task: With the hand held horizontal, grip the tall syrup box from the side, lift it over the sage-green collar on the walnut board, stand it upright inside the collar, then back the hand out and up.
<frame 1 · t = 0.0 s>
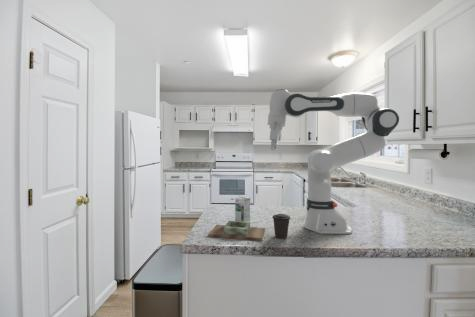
hand: (273, 149, 137), 39 cm above the countertop, tool pointing down, fingers open, 8 cm apart
collar stand: (237, 233, 125), on the countertop
syrup box: (242, 225, 138), on the countertop
coffee cup: (281, 237, 121), on the countertop
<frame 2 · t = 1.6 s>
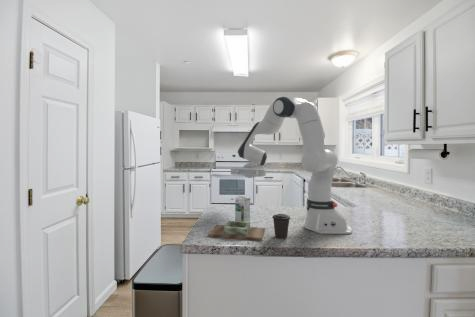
hand: (246, 173, 148), 25 cm above the countertop, tool horizontal, fingers open, 8 cm apart
nothing on the countertop moved.
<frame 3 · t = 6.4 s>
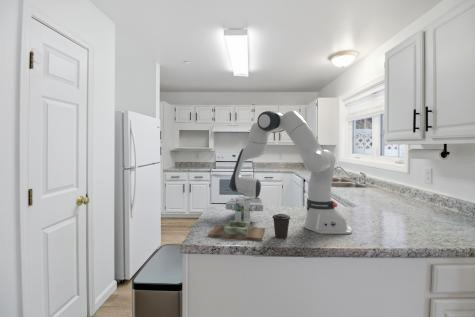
hand: (242, 209, 137), 8 cm above the countertop, tool horizontal, fingers closed on syrup box, 7 cm apart
syrup box: (242, 225, 138), on the countertop, touching gripper
everything else where it was.
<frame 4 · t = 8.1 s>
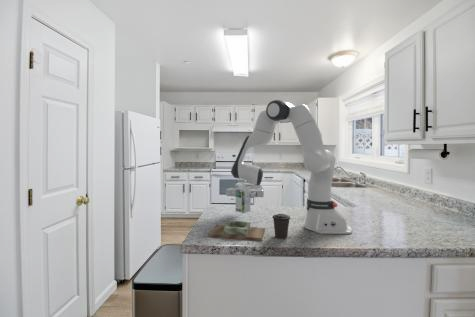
hand: (242, 195, 136), 16 cm above the countertop, tool horizontal, fingers closed on syrup box, 7 cm apart
syrup box: (243, 211, 137), point 7 cm above the countertop, touching gripper
everything else where it was.
when the fingers open (16 cm above the countertop, at t = 9.7 s): syrup box drops 5 cm, resting on collar stand.
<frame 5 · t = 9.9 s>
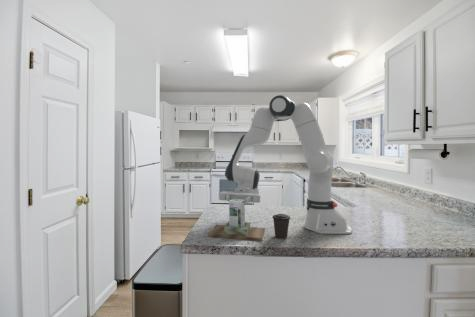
hand: (236, 199, 123), 16 cm above the countertop, tool horizontal, fingers open, 7 cm apart
syrup box: (237, 231, 125), point 1 cm above the countertop, touching collar stand, gripper
everything else where it was.
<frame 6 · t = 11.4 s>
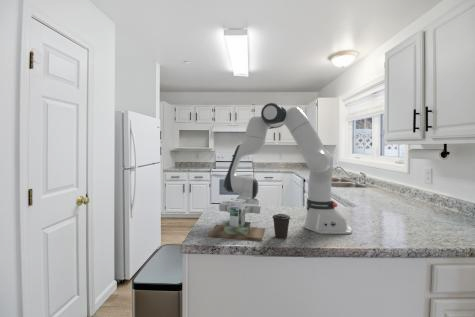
hand: (237, 211, 124), 11 cm above the countertop, tool horizontal, fingers closed on syrup box, 6 cm apart
syrup box: (237, 231, 125), point 1 cm above the countertop, touching collar stand, gripper
everything else where it was.
when the fingers open (11 cm above the countertop, at t = 11.4 s): syrup box stays where it is, resting on collar stand.
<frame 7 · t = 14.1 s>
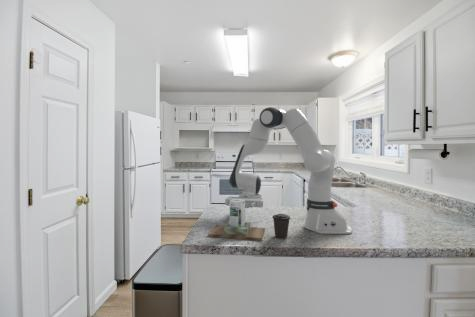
hand: (242, 205, 136), 11 cm above the countertop, tool horizontal, fingers open, 8 cm apart
syrup box: (237, 231, 125), point 1 cm above the countertop, touching collar stand
everything else where it was.
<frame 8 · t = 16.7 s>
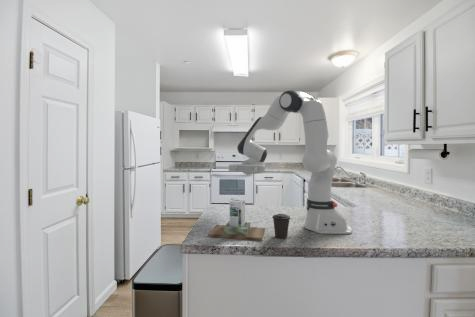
hand: (244, 169, 142), 28 cm above the countertop, tool horizontal, fingers open, 8 cm apart
nothing on the countertop moved.
at the end: syrup box 0.2 cm off-centre on the collar stand, point 1.0 cm above the collar stand's base; syrup box tilted 0°; the gripper is holding nothing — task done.
